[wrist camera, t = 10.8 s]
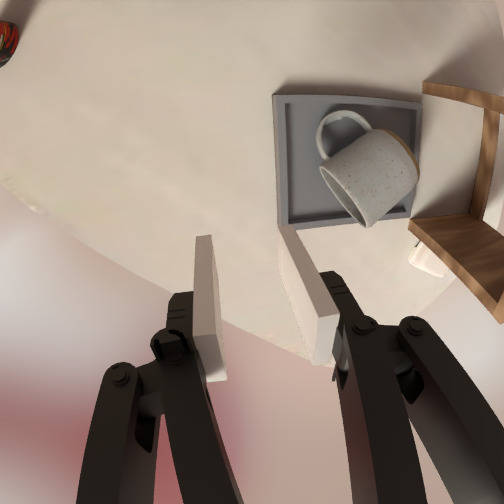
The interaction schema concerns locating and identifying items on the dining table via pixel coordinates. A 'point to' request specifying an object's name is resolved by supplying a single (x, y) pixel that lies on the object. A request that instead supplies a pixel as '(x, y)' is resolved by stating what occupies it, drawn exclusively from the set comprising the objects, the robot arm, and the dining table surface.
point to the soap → (427, 261)
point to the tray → (330, 152)
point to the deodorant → (7, 41)
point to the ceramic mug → (368, 170)
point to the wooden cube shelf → (471, 214)
